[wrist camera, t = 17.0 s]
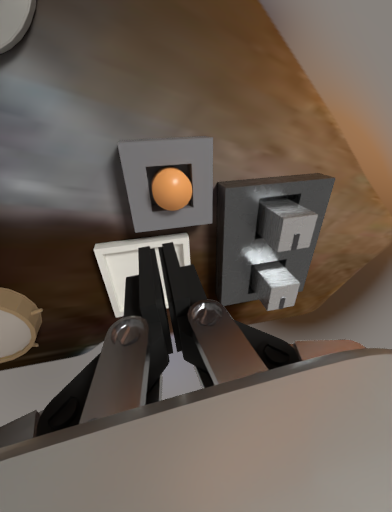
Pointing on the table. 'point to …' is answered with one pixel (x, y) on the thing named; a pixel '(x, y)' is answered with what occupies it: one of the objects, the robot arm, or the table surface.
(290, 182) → the grey slotted frame
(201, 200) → the button housing
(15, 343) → the alarm clock
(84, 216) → the table surface
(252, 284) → the block
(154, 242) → the tray
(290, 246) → the billet
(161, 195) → the button cap
